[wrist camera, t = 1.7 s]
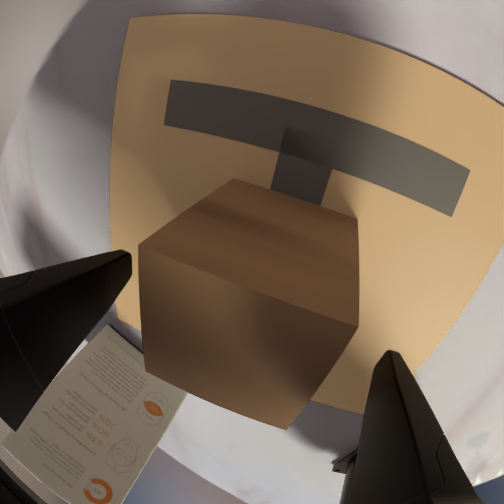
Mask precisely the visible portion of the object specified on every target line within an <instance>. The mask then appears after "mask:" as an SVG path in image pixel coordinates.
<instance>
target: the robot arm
mask: <svg viewBox="0 0 504 504" xmlns="http://www.w3.org/2000/svg"><path fill="white" fill-rule="evenodd" d="M131 276H132V255H131V253H130V252H127V251H125V250H122V249H120V250H115V251H111V252H107V253H102V254H98V255H94V256H90V257H86V258H81V259H77V260H73V261H69V262H65V263H61V264H57V265H53V266H49V267H45V268H41V269H38V270H35V271H30V272H26V273H22V274H18V275H14V276H9V277H4V278H0V417H1V418H2V419H3V420H4V422H5V423H7V424H8V426H10V428H12V429H13V430H14V431H15V432H16V431H17V430H18V429H19V427H20V426H21V424H22V423H23V421H24V420H25V418H26V417H27V415H28V414H29V412H30V411H31V410H32V408H33V407H34V405H35V404H36V402H37V401H38V400H39V398H40V397H41V395H42V394H43V393H44V391H45V390H46V388H47V387H48V386H49V384H50V383H51V382H52V380H53V379H54V378H55V376H56V375H57V373H58V372H59V371H60V370H61V368H62V367H63V366H64V364H65V363H66V362H67V361H68V359H69V358H70V357H71V355H72V354H73V353H74V352H75V350H76V349H77V348H78V347H79V345H80V344H81V343H82V342H83V340H84V339H85V338H86V337H87V335H88V334H89V333H90V332H91V330H92V329H93V328H94V327H95V326H96V324H97V323H98V322H99V321H100V320H101V318H102V317H103V316H104V315H105V314H106V312H107V311H108V310H109V309H110V307H111V306H112V304H113V303H114V301H115V300H116V299H117V297H118V296H119V294H120V293H121V291H122V290H123V288H124V287H125V286H126V284H127V283H128V281H129V280H130V278H131ZM443 434H444V432H443V431H442V429H441V427H440V425H439V423H438V421H437V419H436V417H435V415H434V413H433V411H432V409H431V407H430V405H429V404H428V402H427V400H426V398H425V396H424V394H423V393H422V391H421V389H420V387H419V385H418V384H417V382H416V380H415V378H414V376H413V375H412V373H411V371H410V369H409V368H408V366H407V364H406V363H405V361H404V359H403V357H402V356H401V354H400V353H399V352H397V351H394V350H390V349H389V350H387V351H386V352H385V353H384V355H383V356H382V357H381V358H380V360H379V361H378V362H377V364H376V365H375V367H374V370H373V374H372V379H371V383H370V388H369V393H368V397H367V401H366V405H365V410H364V416H363V423H362V430H361V437H360V443H359V448H358V449H357V450H356V451H354V452H353V453H352V454H350V455H349V456H347V457H346V458H344V459H343V460H342V461H340V462H339V463H337V464H336V465H334V466H333V469H332V471H334V472H338V473H343V474H346V475H345V480H344V485H343V490H342V495H341V499H340V504H488V503H486V502H484V501H483V500H482V499H481V498H480V497H479V496H478V495H477V493H476V491H475V490H474V488H473V486H472V484H471V483H470V481H469V479H468V477H467V476H466V474H465V472H464V470H463V469H462V467H461V465H460V463H459V461H458V460H457V458H456V456H455V454H454V452H453V450H452V448H451V446H450V444H449V442H448V440H447V438H446V436H445V435H443ZM0 504H47V503H46V502H45V501H43V500H42V499H41V498H40V497H39V496H37V495H36V494H35V493H34V492H33V491H32V490H31V489H30V488H29V487H28V486H26V485H25V484H24V483H23V482H22V481H21V480H20V479H19V478H18V477H17V476H16V475H15V474H14V473H13V472H12V471H11V470H10V469H9V468H8V467H7V466H6V465H5V463H4V462H3V461H2V460H1V459H0Z"/></svg>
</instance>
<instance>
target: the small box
mask: <svg viewBox="0 0 504 504" xmlns="http://www.w3.org/2000/svg"><path fill="white" fill-rule="evenodd" d="M187 393H188V392H186V391H184V390H182V389H180V388H178V387H175V386H173V385H171V384H169V383H167V382H165V381H163V380H161V379H159V378H157V377H156V376H154V375H152V374H150V373H148V372H146V371H145V363H144V355H143V354H142V353H141V352H139V351H138V350H137V349H136V348H135V347H133V346H132V345H131V344H130V343H128V342H127V341H126V340H125V339H124V338H123V337H121V336H120V335H119V334H118V333H117V332H116V331H115V330H113V329H112V328H111V327H110V326H109V325H108V324H107V325H106V326H105V327H104V328H103V329H102V330H101V331H99V333H98V334H97V335H96V336H95V337H94V338H93V339H92V340H91V341H90V342H89V343H88V344H87V345H86V346H85V347H84V348H83V349H82V350H81V351H80V352H79V353H78V354H77V355H76V356H75V357H74V358H73V359H72V360H71V362H70V363H69V364H68V365H67V366H66V367H65V368H64V369H63V370H62V372H61V373H60V374H59V375H58V376H57V377H56V378H55V379H54V381H53V382H52V383H51V384H50V385H49V386H48V387H47V389H46V390H45V391H44V393H43V394H42V395H41V397H40V398H39V400H38V401H37V402H36V404H35V405H34V407H33V408H32V410H31V411H30V412H29V414H28V415H27V417H26V418H25V420H24V421H23V423H22V424H21V426H20V427H19V429H18V430H17V431H16V432H15V431H14V430H13V429H12V430H11V431H10V432H9V434H8V435H7V436H6V437H5V438H4V440H3V441H2V442H1V446H2V447H3V448H4V449H5V450H6V451H7V452H8V453H10V454H11V455H12V456H13V457H14V458H15V459H16V460H17V461H18V462H19V463H20V464H21V465H22V466H23V467H25V468H26V469H27V470H28V471H29V472H30V473H31V474H33V475H34V476H35V477H36V478H37V479H38V480H39V481H40V482H41V483H43V484H44V485H45V486H46V487H47V488H49V489H50V490H51V491H53V492H54V493H55V494H57V495H58V496H59V497H61V498H62V499H64V500H65V501H67V502H68V503H70V504H122V502H123V501H124V499H125V498H126V496H127V494H128V493H129V491H130V489H131V488H132V486H133V484H134V483H135V481H136V480H137V478H138V476H139V475H140V473H141V471H142V470H143V468H144V466H145V465H146V463H147V461H148V460H149V458H150V456H151V455H152V453H153V451H154V450H155V448H156V446H157V445H158V443H159V441H160V440H161V438H162V437H163V435H164V433H165V431H166V430H167V428H168V426H169V425H170V423H171V421H172V420H173V418H174V416H175V414H176V413H177V411H178V409H179V408H180V406H181V404H182V402H183V401H184V399H185V397H186V395H187Z"/></svg>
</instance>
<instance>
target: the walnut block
mask: <svg viewBox="0 0 504 504" xmlns="http://www.w3.org/2000/svg"><path fill="white" fill-rule="evenodd" d="M138 277H139V302H140V319H141V332H142V344H143V354H144V363H145V371H146V372H148V373H150V374H152V375H154V376H156V377H157V378H159V379H161V380H163V381H165V382H167V383H169V384H171V385H173V386H175V387H178V388H180V389H182V390H184V391H186V392H188V393H190V394H193V395H195V396H197V397H199V398H202V399H204V400H206V401H208V402H211V403H213V404H215V405H218V406H220V407H223V408H225V409H228V410H230V411H233V412H235V413H238V414H241V415H243V416H246V417H249V418H251V419H254V420H257V421H260V422H263V423H266V424H269V425H272V426H275V427H278V428H281V429H284V430H287V429H288V427H289V426H290V425H291V424H292V422H293V421H294V420H295V419H296V417H297V416H298V415H299V414H300V412H301V411H302V410H303V408H304V407H305V406H306V404H307V403H308V402H309V400H310V399H311V398H312V396H313V395H314V394H315V392H316V391H317V389H318V388H319V387H320V385H321V384H322V382H323V381H324V380H325V378H326V377H327V375H328V374H329V372H330V371H331V369H332V368H333V367H334V365H335V364H336V362H337V361H338V359H339V358H340V356H341V354H342V353H343V351H344V350H345V348H346V347H347V345H348V344H349V342H350V340H351V339H352V337H353V336H354V334H355V332H356V331H357V329H358V327H359V294H360V273H359V235H358V219H355V218H352V217H350V216H347V215H344V214H341V213H339V212H336V211H333V210H330V209H327V208H325V207H322V206H319V205H316V204H313V203H310V202H307V201H304V200H301V199H298V198H295V197H292V196H289V195H286V194H283V193H280V192H277V191H273V190H270V189H267V188H264V187H261V186H257V185H254V184H251V183H247V182H244V181H241V180H237V179H234V178H233V179H232V180H230V181H229V182H227V183H226V184H224V185H223V186H221V187H220V188H218V189H217V190H215V191H213V192H212V193H210V194H209V195H208V196H206V197H205V198H203V199H202V200H200V201H199V202H197V203H196V204H194V205H193V206H191V207H190V208H188V209H187V210H186V211H184V212H183V213H181V214H180V215H178V216H177V217H176V218H174V219H173V220H171V221H170V222H168V223H167V224H166V225H164V226H163V227H162V228H160V229H159V230H157V231H156V232H155V233H153V234H152V235H151V236H149V237H148V238H146V239H145V240H144V241H142V242H141V243H140V244H138Z"/></svg>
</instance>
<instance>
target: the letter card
mask: <svg viewBox="0 0 504 504" xmlns="http://www.w3.org/2000/svg"><path fill="white" fill-rule="evenodd" d="M233 178H234V179H237V180H241V181H244V182H247V183H251V184H254V185H257V186H261V187H264V188H267V189H270V190H273V191H277V192H280V193H283V194H286V195H289V196H292V197H295V198H298V199H301V200H304V201H307V202H310V203H313V204H316V205H319V206H322V207H325V208H327V209H330V210H333V211H336V212H339V213H341V214H344V215H347V216H350V217H352V218H355V219H358V235H359V273H360V294H359V327H358V329H357V331H356V332H355V334H354V336H353V337H352V339H351V340H350V342H349V344H348V345H347V347H346V348H345V350H344V351H343V353H342V354H341V356H340V358H339V359H338V361H337V362H336V364H335V365H334V367H333V368H332V369H331V371H330V372H329V374H328V375H327V377H326V378H325V380H324V381H323V382H322V384H321V385H320V387H319V388H318V389H317V391H316V392H315V394H314V395H313V396H312V398H311V399H310V400H312V401H315V402H318V403H322V404H325V405H329V406H332V407H336V408H339V409H343V410H347V411H351V412H355V413H359V414H363V415H364V410H365V405H366V401H367V397H368V393H369V388H370V383H371V379H372V374H373V370H374V367H375V365H376V364H377V362H378V361H379V360H380V358H381V357H382V356H383V355H384V353H385V352H386V351H387V350H389V349H390V350H394V351H397V352H399V353H400V354H401V356H402V357H403V359H404V361H405V363H406V364H407V366H408V368H409V369H410V371H411V373H412V375H413V374H414V373H415V372H416V371H417V370H418V369H419V367H420V366H421V365H422V364H423V363H424V362H425V360H426V359H427V358H428V357H429V356H430V354H431V353H432V352H433V351H434V349H435V348H436V347H437V346H438V344H439V343H440V342H441V341H442V339H443V338H444V337H445V335H446V334H447V333H448V331H449V330H450V329H451V327H452V326H453V325H454V323H455V322H456V320H457V319H458V318H459V316H460V315H461V313H462V312H463V310H464V309H465V308H466V306H467V305H468V303H469V302H470V300H471V298H472V297H473V295H474V294H475V292H476V291H477V289H478V287H479V286H480V284H481V282H482V281H483V279H484V277H485V276H486V274H487V272H488V271H489V269H490V267H491V265H492V264H493V262H494V260H495V258H496V256H497V254H498V252H499V251H500V249H501V247H502V245H503V243H504V107H503V106H501V105H500V104H498V103H497V102H495V101H494V100H492V99H491V98H489V97H488V96H486V95H484V94H483V93H481V92H479V91H478V90H476V89H474V88H473V87H471V86H469V85H467V84H466V83H464V82H462V81H460V80H458V79H457V78H455V77H453V76H451V75H449V74H447V73H445V72H443V71H441V70H439V69H437V68H435V67H433V66H430V65H428V64H426V63H424V62H422V61H419V60H417V59H415V58H412V57H410V56H408V55H405V54H403V53H400V52H398V51H395V50H392V49H390V48H387V47H384V46H381V45H378V44H375V43H372V42H369V41H366V40H363V39H360V38H357V37H353V36H350V35H346V34H343V33H339V32H335V31H331V30H327V29H323V28H318V27H314V26H309V25H304V24H299V23H293V22H288V21H281V20H275V19H267V18H259V17H250V16H238V15H222V14H169V15H154V16H142V17H133V18H130V20H129V24H128V29H127V33H126V38H125V42H124V47H123V53H122V58H121V64H120V70H119V76H118V83H117V90H116V98H115V106H114V116H113V126H112V139H111V156H110V192H109V203H110V239H111V251H115V250H120V249H122V250H125V251H127V252H130V253H131V255H132V276H131V278H130V280H129V281H128V283H127V284H126V286H125V287H124V288H123V290H122V291H121V293H120V294H119V296H118V297H117V299H116V308H117V315H118V319H120V320H122V321H123V322H125V323H127V324H129V325H131V326H133V327H135V328H137V329H138V330H140V331H141V319H140V302H139V277H138V244H140V243H141V242H142V241H144V240H145V239H146V238H148V237H149V236H151V235H152V234H153V233H155V232H156V231H157V230H159V229H160V228H162V227H163V226H164V225H166V224H167V223H168V222H170V221H171V220H173V219H174V218H176V217H177V216H178V215H180V214H181V213H183V212H184V211H186V210H187V209H188V208H190V207H191V206H193V205H194V204H196V203H197V202H199V201H200V200H202V199H203V198H205V197H206V196H208V195H209V194H210V193H212V192H213V191H215V190H217V189H218V188H220V187H221V186H223V185H224V184H226V183H227V182H229V181H230V180H232V179H233Z"/></svg>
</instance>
